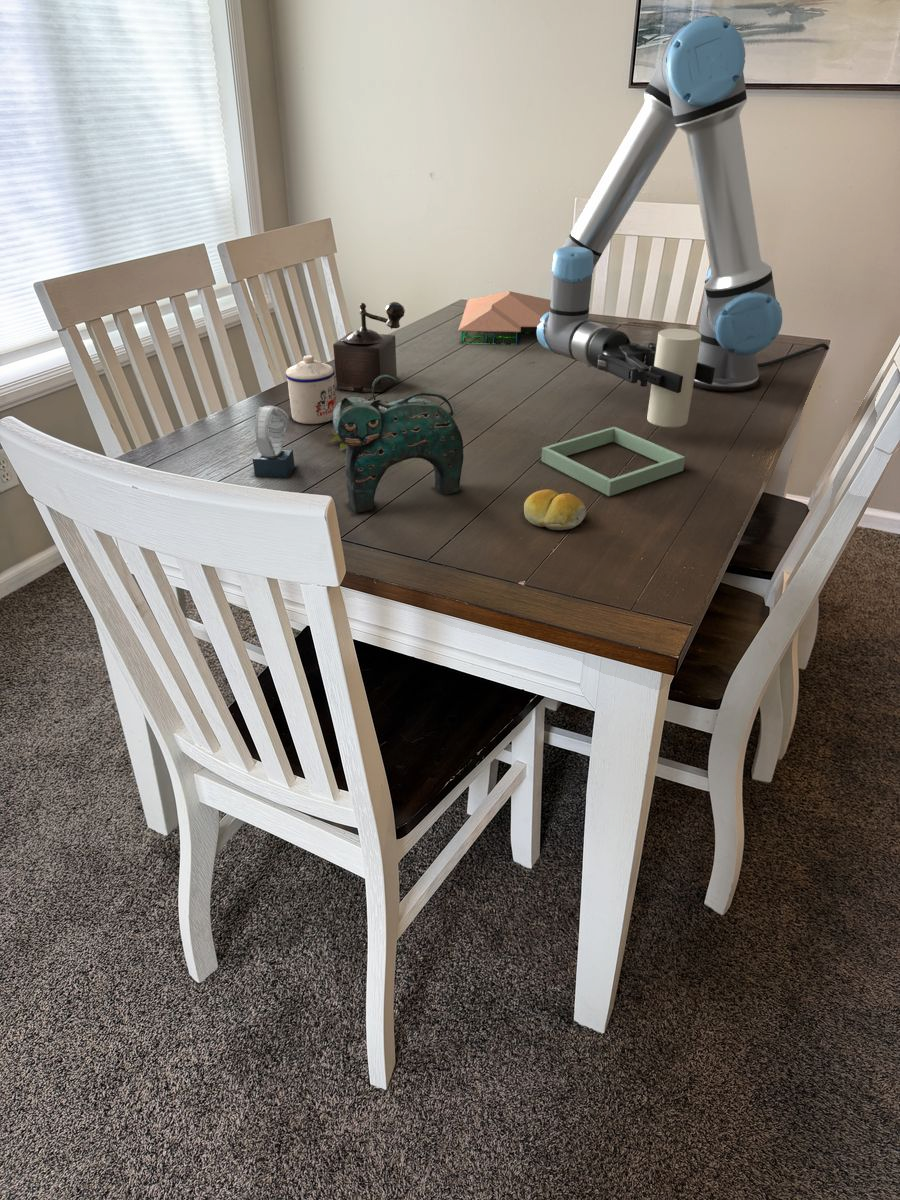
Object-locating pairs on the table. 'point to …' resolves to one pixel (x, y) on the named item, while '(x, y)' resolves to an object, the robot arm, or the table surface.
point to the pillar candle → (680, 358)
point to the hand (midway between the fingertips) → (696, 380)
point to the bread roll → (554, 510)
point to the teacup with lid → (311, 391)
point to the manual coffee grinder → (368, 354)
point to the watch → (272, 444)
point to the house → (502, 314)
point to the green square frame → (665, 467)
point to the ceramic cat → (396, 442)
